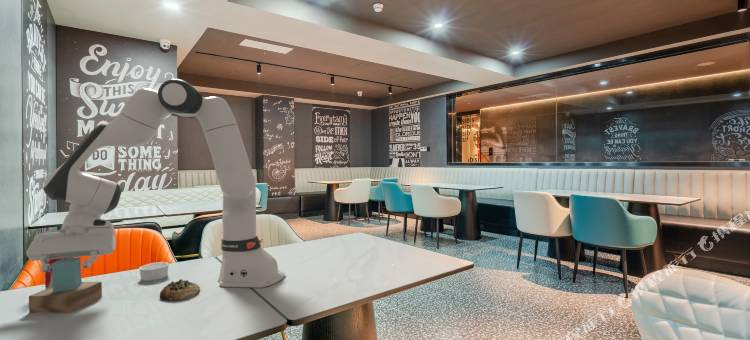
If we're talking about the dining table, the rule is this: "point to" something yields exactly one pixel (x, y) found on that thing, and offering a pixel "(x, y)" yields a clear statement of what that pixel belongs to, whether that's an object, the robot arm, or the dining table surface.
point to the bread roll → (179, 290)
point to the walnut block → (64, 298)
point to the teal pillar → (66, 274)
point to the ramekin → (154, 271)
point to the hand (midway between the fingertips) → (65, 269)
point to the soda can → (50, 273)
